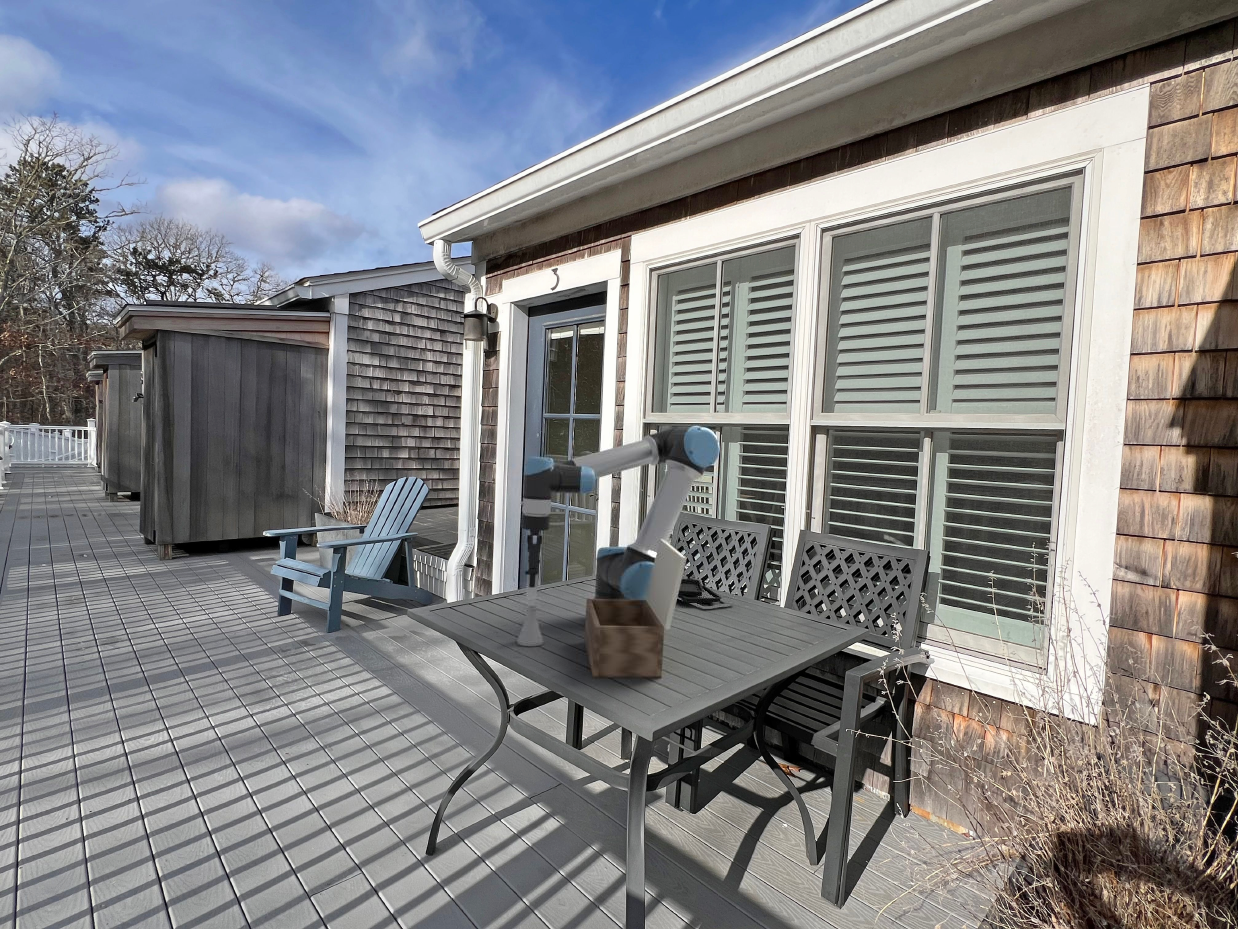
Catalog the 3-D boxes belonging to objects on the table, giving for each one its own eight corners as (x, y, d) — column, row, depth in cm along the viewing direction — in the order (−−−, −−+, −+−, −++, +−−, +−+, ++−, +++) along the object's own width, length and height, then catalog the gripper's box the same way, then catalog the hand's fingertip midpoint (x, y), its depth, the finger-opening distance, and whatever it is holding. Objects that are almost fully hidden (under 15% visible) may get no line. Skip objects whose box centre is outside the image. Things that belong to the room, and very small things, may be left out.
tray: (743, 605, 229) (744, 591, 229) (700, 615, 214) (701, 599, 214) (680, 588, 252) (681, 575, 251) (637, 595, 236) (638, 581, 236)
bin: (643, 642, 181) (645, 600, 180) (661, 677, 155) (664, 628, 154) (584, 642, 179) (586, 598, 178) (592, 677, 153) (595, 627, 152)
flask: (517, 638, 179) (519, 602, 179) (544, 639, 180) (545, 603, 179) (515, 647, 172) (517, 609, 171) (543, 647, 172) (545, 610, 172)
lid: (645, 599, 181) (649, 600, 181) (664, 628, 154) (669, 629, 154) (659, 538, 181) (663, 539, 181) (681, 557, 153) (686, 558, 154)
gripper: (522, 508, 186) (518, 582, 187) (520, 519, 161) (515, 604, 162) (549, 510, 187) (544, 583, 188) (551, 521, 162) (546, 605, 163)
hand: (531, 593), depth 175 cm, fingers open, 13 cm apart
